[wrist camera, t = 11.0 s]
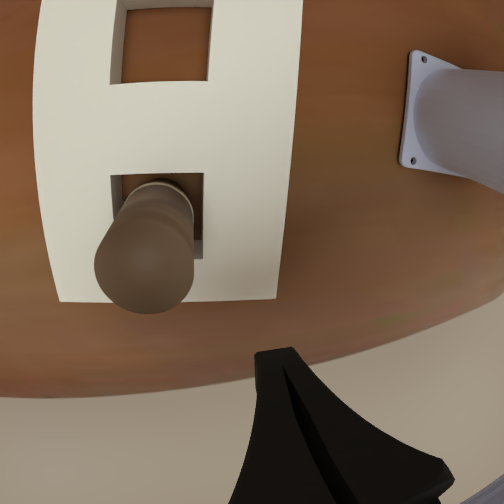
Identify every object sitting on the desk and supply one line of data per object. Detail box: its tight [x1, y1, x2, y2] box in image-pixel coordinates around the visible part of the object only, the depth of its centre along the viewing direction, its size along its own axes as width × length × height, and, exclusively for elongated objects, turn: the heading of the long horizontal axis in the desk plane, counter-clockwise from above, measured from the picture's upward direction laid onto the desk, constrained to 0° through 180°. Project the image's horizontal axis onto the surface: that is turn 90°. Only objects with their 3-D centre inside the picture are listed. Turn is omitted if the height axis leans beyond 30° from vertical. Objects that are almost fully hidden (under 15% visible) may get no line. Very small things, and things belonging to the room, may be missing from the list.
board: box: [33, 0, 303, 302], centre depth 15 cm, size 13×20×2 cm, turn 177°
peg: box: [94, 178, 194, 314], centre depth 14 cm, size 4×4×8 cm
